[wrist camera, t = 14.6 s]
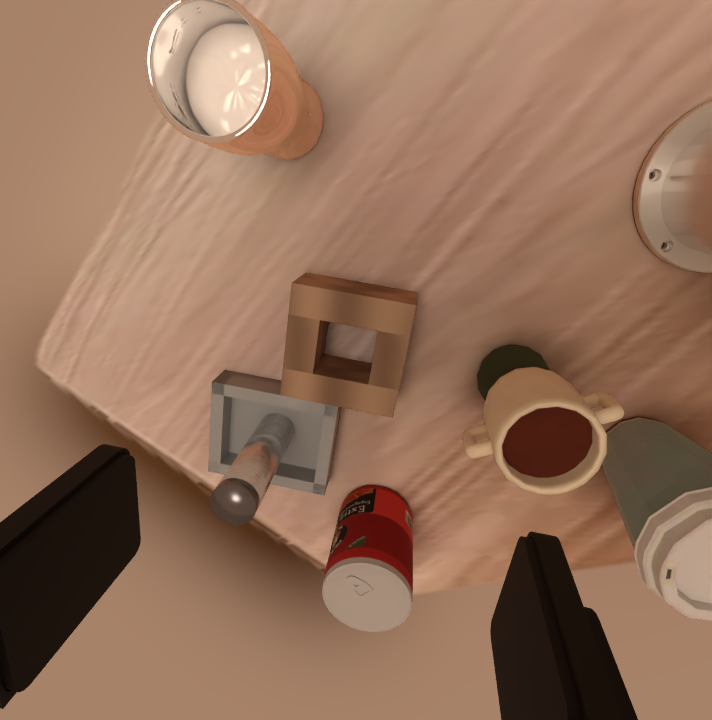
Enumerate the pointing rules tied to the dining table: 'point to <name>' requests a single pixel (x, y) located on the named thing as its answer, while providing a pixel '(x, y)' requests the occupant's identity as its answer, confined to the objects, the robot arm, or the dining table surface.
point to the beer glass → (229, 81)
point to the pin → (252, 471)
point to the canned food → (371, 561)
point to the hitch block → (339, 375)
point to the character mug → (539, 423)
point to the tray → (246, 410)
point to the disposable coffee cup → (665, 509)
